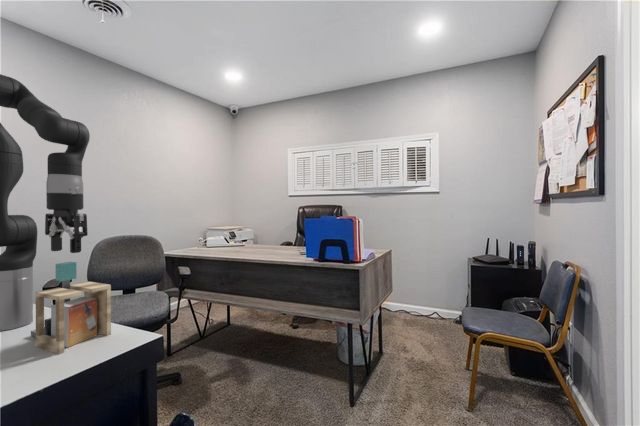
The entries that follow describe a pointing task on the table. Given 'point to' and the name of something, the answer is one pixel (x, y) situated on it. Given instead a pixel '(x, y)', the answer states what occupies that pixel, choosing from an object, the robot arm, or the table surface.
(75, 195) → the robot arm
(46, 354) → the table surface
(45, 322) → the slider
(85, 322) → the small box
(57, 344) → the tunnel
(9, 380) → the table surface
